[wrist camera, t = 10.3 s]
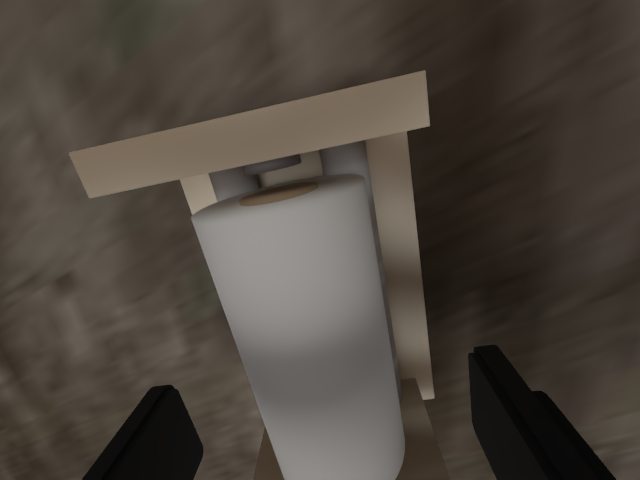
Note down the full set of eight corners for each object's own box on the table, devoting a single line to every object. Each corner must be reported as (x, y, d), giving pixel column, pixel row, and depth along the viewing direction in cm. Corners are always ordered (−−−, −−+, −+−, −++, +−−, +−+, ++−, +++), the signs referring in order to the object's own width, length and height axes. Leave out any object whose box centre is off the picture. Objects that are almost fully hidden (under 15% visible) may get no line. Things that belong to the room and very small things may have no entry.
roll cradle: (428, 383, 20) (487, 537, 12) (268, 403, 21) (231, 555, 13) (396, 85, 14) (470, 28, 6) (176, 135, 15) (21, 136, 8)
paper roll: (399, 387, 16) (413, 520, 11) (296, 390, 18) (262, 509, 12) (366, 165, 13) (361, 196, 7) (237, 189, 14) (147, 231, 8)
